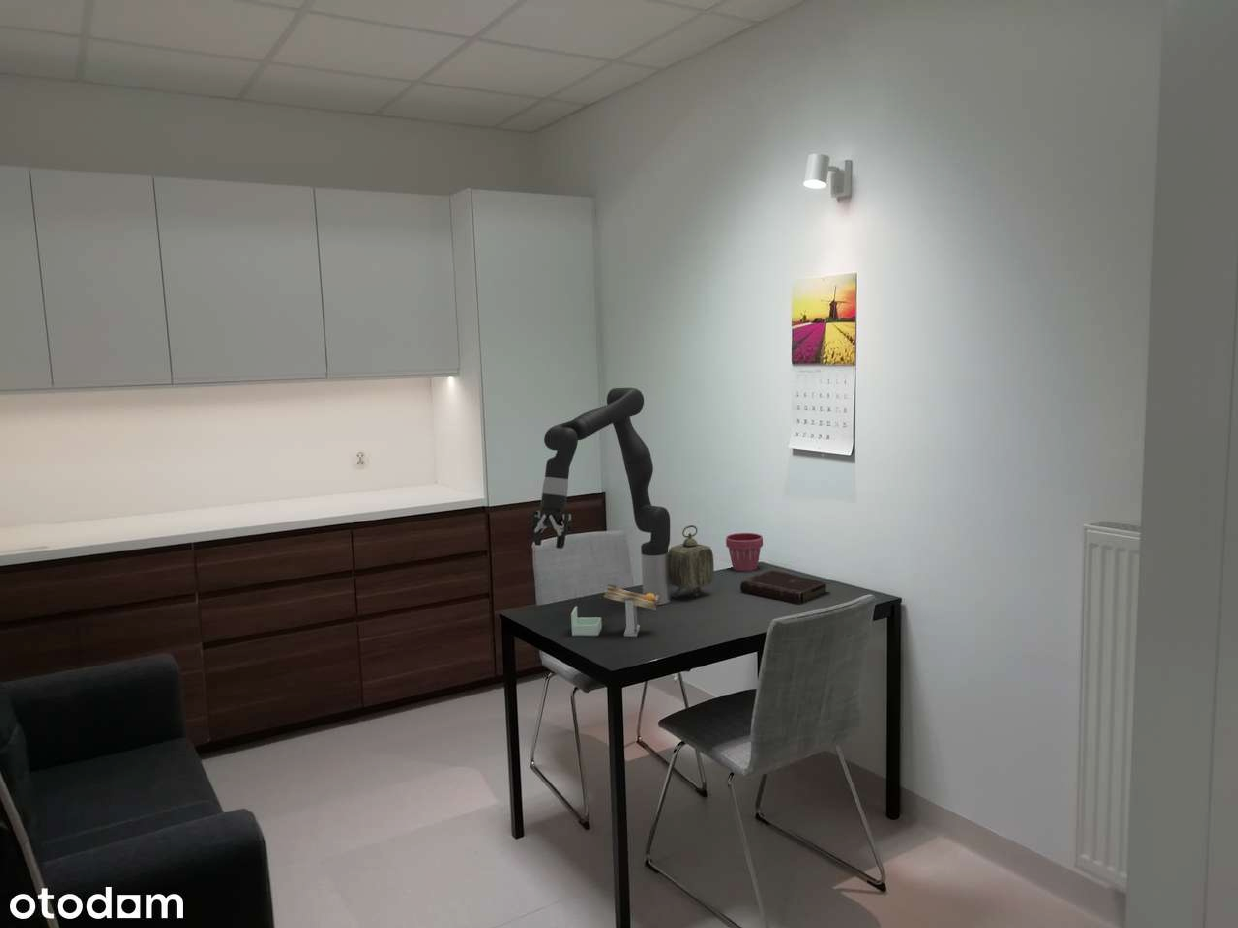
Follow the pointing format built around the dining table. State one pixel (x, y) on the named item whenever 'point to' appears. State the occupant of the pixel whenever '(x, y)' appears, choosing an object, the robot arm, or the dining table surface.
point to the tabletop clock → (690, 564)
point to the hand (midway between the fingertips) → (548, 547)
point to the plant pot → (744, 550)
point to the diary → (784, 587)
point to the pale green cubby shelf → (585, 625)
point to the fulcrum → (631, 619)
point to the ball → (650, 597)
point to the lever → (629, 597)
